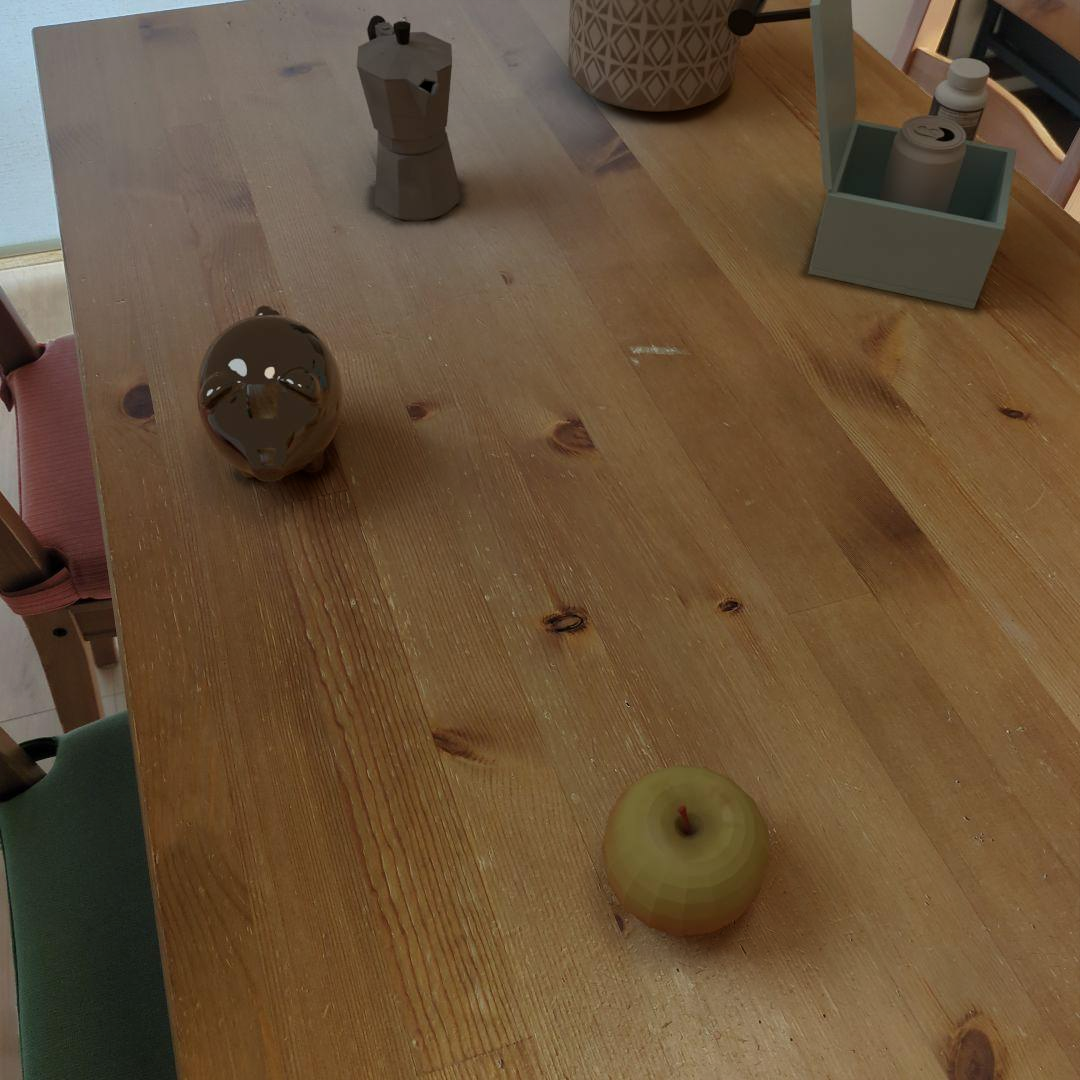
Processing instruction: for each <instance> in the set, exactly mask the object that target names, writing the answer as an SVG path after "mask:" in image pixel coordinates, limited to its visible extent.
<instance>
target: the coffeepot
mask: <svg viewBox="0 0 1080 1080" xmlns="http://www.w3.org/2000/svg"><path fill="white" fill-rule="evenodd" d="M366 32H367V38H368V41H366V42H365V43H363V44H361V45H359V46H357V56H356V57H357V59H356V70H357V72H358V76H359V80H360V83H361V86H362V90H363V93H364V97H365V101H366V105H367V108H368V111H369V115H370V119H371V122H372V123H371V124H372V126H373V129H374V130H376V131H377V145H376V167H375V168H376V171H375V189H374V190H375V192H374V206H375V207H377V208H378V209H379V210H380V211H381V212H383V213H385V214H386V215H388V216H390V217H391V218H394V219H395V218H396V219H397V220H398V219H399V220H404V221H410V222H411V221H415V222H416V221H417V222H418V221H419V222H420V221H427V220H432V219H436V218H438V217H441V216H443V215H445V214H448V212H450V211H451V210H453V209H454V208H455V206H456V205H457V204H459V203H460V182H459V178H458V173H457V170H456V165H455V161H454V158H453V157H454V156H453V153H452V150H451V145H450V142H449V137H448V132H447V131H446V127H447V126H448V116H449V106H450V105H449V104H450V91H451V82H452V68H453V50H452V49H453V48H452V43H450V42H447V41H445V40H443V39H441V38H438V37H437V36H434V35H432V34H429V33H427V32H426V31H411V22H409V21H407V20H399V21H396V22H394V23H393V25H392V24H391V23H390V22H389V21H387V20H386V19H385V18H384V17H383V16H381V15H378V14H377V15H373V16H372V17H370V20H369V21H368V25H367V27H366Z"/></svg>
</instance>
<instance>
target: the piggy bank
mask: <svg viewBox="0 0 1080 1080" xmlns="http://www.w3.org/2000/svg"><path fill="white" fill-rule="evenodd" d="M195 393H196V395H195V396H196V405H197V412H198V416H199V421H200V423H201V426H202V429H203V431H204V433H205V435H206V437H207V439H208V441H209V442H210V444H211V445H212V447H213V448H214V450H216V452H218V454H219V455H220V456H221V457H222V458H223V459H224V460H226V461H227V462H228V463H229V464H231V465H233V466H234V467H236V468H238V469H239V471H240V473H241V474H242V475H243V476H244V477H246V478H249V479H252V478H256V479H257V480H259V481H262V482H268V483H269V482H276V481H280V480H282V479H283V478H285V477H286V476H289V475H291V474H294V473H296V472H298V471H300V470H303V471H304V472H306V473H312V474H313V473H317V472H319V471H320V470H321V469H323V467H324V465H325V456H324V451H325V450H326V449H327V448H328V446H329V445H330V443H331V442H332V440H333V439H334V437H335V434H336V432H337V430H338V427H339V424H340V421H341V417H342V412H343V406H344V386H343V379H342V374H341V371H340V367H339V364H338V362H337V360H336V358H335V355H334V354H333V352H332V350H331V348H330V347H329V345H328V344H327V343H326V341H324V339H323V338H322V337H321V336H320V335H319V334H318V333H317V332H316V331H314V330H313V329H312V328H311V327H309V326H308V325H306V324H304V323H302V322H301V321H298V320H296V319H294V318H291V317H288V316H284V315H282V314H281V313H280V312H279V311H278V310H276V309H274V308H273V307H272V306H269V305H260V306H258V308H256V310H255V312H254V315H252V316H248V317H246V318H243V319H240V320H238V321H236V322H234V323H232V324H230V325H229V326H227V327H226V328H225V329H224V330H222V331H220V333H219V334H218V335H217V336H216V337H215V338H214V339H213V340H212V342H211V343H210V345H209V346H208V347H207V349H206V351H205V353H204V355H203V357H202V359H201V362H200V365H199V369H198V372H197V380H196V392H195Z"/></svg>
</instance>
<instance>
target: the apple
mask: <svg viewBox="0 0 1080 1080" xmlns="http://www.w3.org/2000/svg"><path fill="white" fill-rule="evenodd" d="M603 835H604V836H603V841H602V846H601V851H602V858H603V864H604V868H605V874H606V879H607V883H608V886H609V887H610V888H611V890H612V892H613V894H614V895H615V896H616V898H617V899H618V901H619V903H620V904H621V906H622V907H623V909H624V910H625V911H627V912H628V913H629V914H631V915H632V916H633V917H634V918H636V919H637V920H639V921H640V922H641V923H643V924H644V925H646V926H647V927H648V928H651V929H655V930H658V931H660V932H661V931H662V932H665V933H668V934H673V935H676V936H679V937H681V936H691V935H703V934H704V935H705V934H711V933H713V932H715V931H718V930H719V929H721V928H723V927H725V926H727V925H729V924H731V923H734V922H735V921H737V920H738V919H739V918H741V916H742V914H743V913H744V912H745V911H747V909H748V907H749V906H750V905H751V904H752V903H753V902H754V901H755V900H756V898H757V897H758V895H759V894H760V892H761V889H762V886H763V882H764V880H765V876H766V873H767V869H768V866H769V863H770V857H771V849H770V842H769V841H770V839H769V830H768V825H767V823H766V821H765V818H764V817H763V815H762V812H761V811H760V809H759V807H758V805H757V803H756V801H755V800H754V798H753V797H751V796H750V795H749V794H748V793H747V792H746V791H745V790H744V789H743V788H742V787H740V785H738V783H736V782H735V781H734V780H733V779H732V778H731V777H730V776H727V775H725V774H722V773H720V772H718V771H716V770H713V769H711V768H709V767H706V766H699V765H690V764H689V765H686V764H675V765H671V766H667V767H663V768H659V769H656V770H652V771H649V772H647V773H645V774H644V775H643V776H641V777H640V778H638V779H637V780H635V781H634V782H632V783H631V784H629V785H628V786H626V787H625V788H624V789H623V790H622V792H621V794H620V796H618V798H617V800H616V801H615V802H614V804H613V806H612V807H611V809H610V810H609V812H608V816H607V819H606V825H605V831H604V834H603Z"/></svg>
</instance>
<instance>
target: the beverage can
mask: <svg viewBox="0 0 1080 1080" xmlns="http://www.w3.org/2000/svg"><path fill="white" fill-rule="evenodd" d="M901 128H902V129H901V130H900V131H899V132H898V133H897V134H896V136H895V138H894V142H893V145H892V149H891V153H890V156H889V160H888V164H887V167H886V171H885V175H884V178H883V182H882V186H881V189H880V193H879V197H878V200H882V201H887V202H892V203H897V204H902V205H907V206H912V207H917V208H922V209H927V210H932V211H938V212H943V213H946V210H947V207H948V204H949V201H950V198H951V195H952V192H953V189H954V186H955V183H956V180H957V177H958V174H959V171H960V168H961V165H962V162H963V159H964V156H965V153H966V145H965V139H966V133H965V131H964V129H963V128H962V127H961V126H960V125H959V124H957V123H955V122H954V121H952V120H949V119H946V118H943V117H939V116H931V115H926V114H924V115H923V114H922V115H916V116H913V117H910V118H908V119H906V120H905V121H904V122H903V124H902V125H901Z"/></svg>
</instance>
